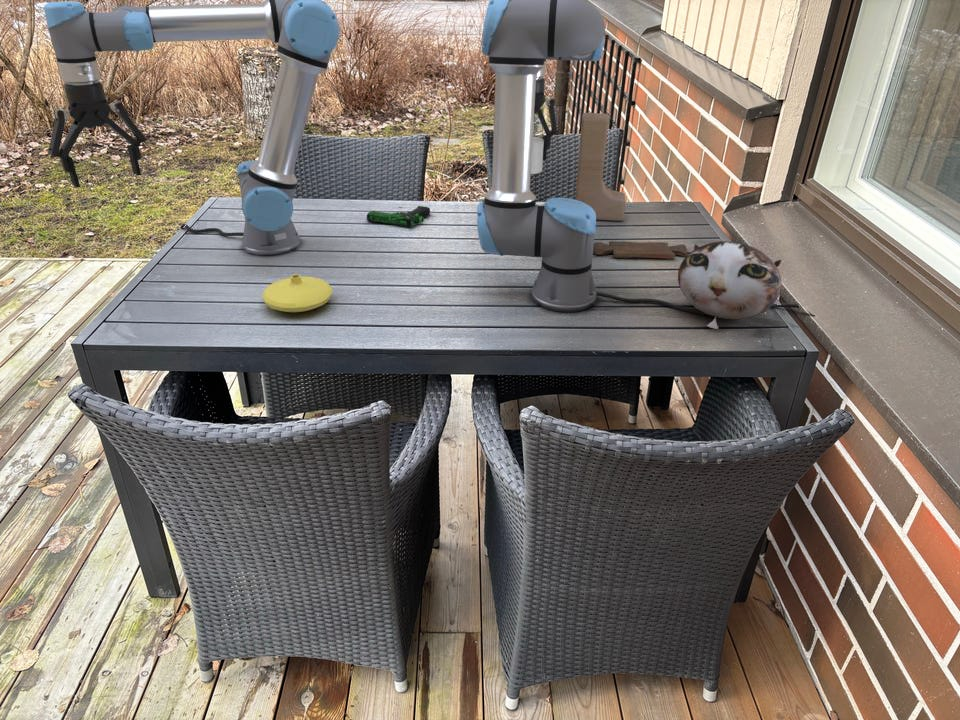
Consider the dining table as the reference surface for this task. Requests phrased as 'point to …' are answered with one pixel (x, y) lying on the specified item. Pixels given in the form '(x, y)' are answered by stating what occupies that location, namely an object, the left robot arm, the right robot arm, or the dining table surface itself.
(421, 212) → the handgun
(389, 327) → the dining table surface
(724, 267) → the cat face balloon
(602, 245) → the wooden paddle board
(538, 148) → the can
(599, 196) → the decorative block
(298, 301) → the vase
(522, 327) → the dining table surface
